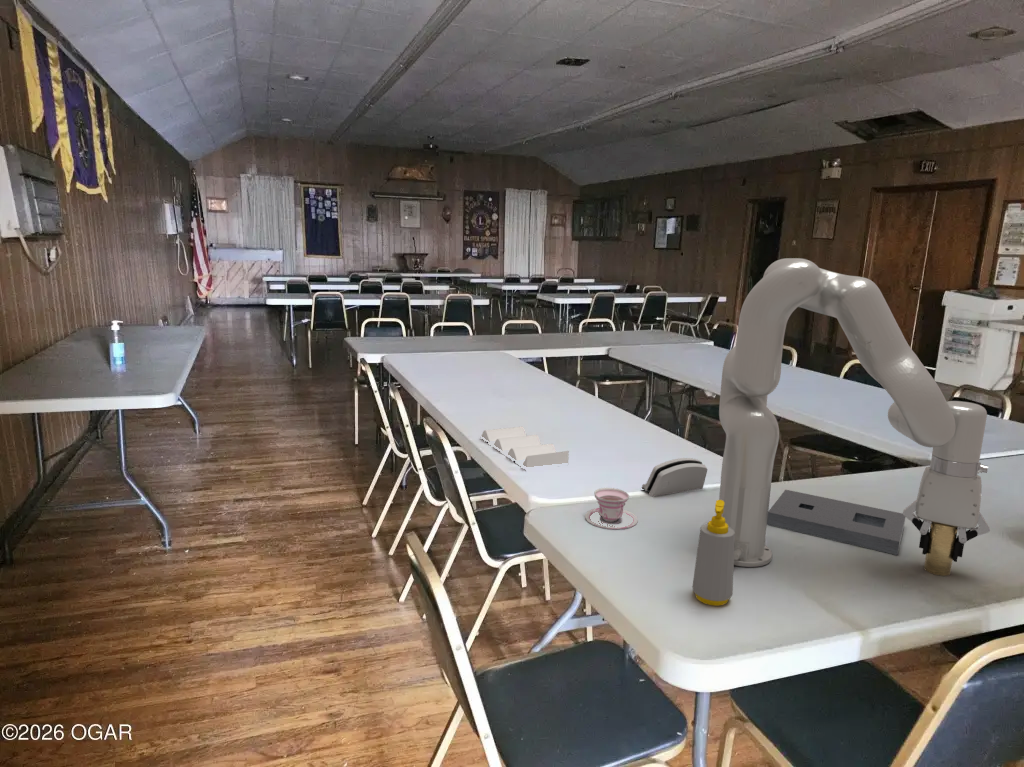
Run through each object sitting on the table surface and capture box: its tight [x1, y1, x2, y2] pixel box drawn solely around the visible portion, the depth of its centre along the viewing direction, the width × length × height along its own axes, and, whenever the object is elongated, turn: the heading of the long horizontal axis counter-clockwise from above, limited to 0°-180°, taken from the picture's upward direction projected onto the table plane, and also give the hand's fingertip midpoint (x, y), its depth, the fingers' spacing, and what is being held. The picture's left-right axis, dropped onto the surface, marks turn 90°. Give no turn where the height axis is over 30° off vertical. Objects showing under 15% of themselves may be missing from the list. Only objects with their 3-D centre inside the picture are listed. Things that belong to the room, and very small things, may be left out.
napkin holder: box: [641, 457, 708, 497], centre depth 170 cm, size 17×5×10 cm, turn 115°
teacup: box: [584, 487, 639, 530], centre depth 151 cm, size 12×12×6 cm
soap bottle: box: [691, 499, 735, 607], centre depth 116 cm, size 7×7×18 cm
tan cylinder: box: [923, 522, 958, 577], centre depth 129 cm, size 4×4×10 cm
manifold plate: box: [767, 489, 907, 556], centre depth 151 cm, size 18×26×3 cm
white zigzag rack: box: [481, 426, 570, 467], centre depth 201 cm, size 13×35×5 cm, turn 25°
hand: (939, 554), depth 130 cm, fingers closed on tan cylinder, 4 cm apart
